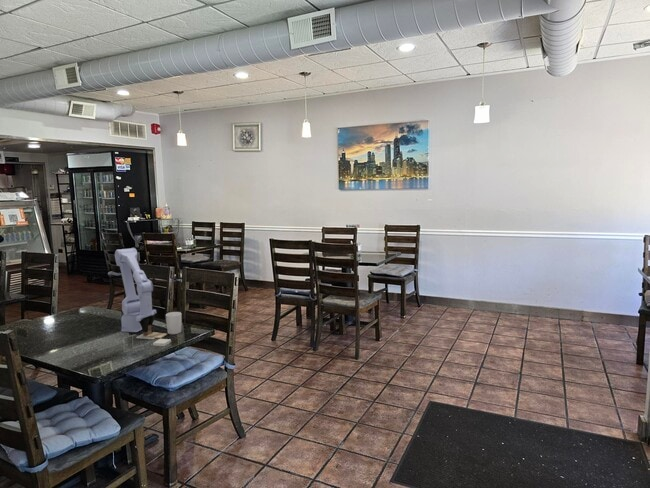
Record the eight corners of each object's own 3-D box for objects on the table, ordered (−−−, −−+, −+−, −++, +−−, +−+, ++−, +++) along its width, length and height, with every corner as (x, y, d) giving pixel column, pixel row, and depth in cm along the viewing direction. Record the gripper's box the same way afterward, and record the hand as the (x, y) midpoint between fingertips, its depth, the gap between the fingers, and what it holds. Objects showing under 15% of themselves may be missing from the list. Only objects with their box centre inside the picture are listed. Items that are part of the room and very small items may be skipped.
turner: (141, 336, 217) (141, 326, 217) (148, 332, 223) (148, 323, 223) (160, 338, 215) (160, 328, 215) (167, 334, 221) (166, 325, 221)
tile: (152, 342, 206) (164, 343, 205) (159, 338, 212) (171, 339, 211) (153, 346, 206) (164, 346, 205) (160, 342, 212) (171, 342, 211)
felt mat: (135, 338, 217) (135, 337, 217) (145, 333, 225) (145, 332, 225) (153, 339, 215) (153, 338, 215) (162, 334, 223) (162, 333, 223)
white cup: (169, 335, 220) (168, 316, 219) (164, 332, 227) (163, 313, 225) (184, 332, 225) (183, 314, 224) (179, 329, 231) (178, 311, 230)
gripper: (144, 309, 210) (145, 335, 212) (161, 301, 225) (162, 326, 226) (131, 308, 212) (133, 334, 213) (148, 301, 226) (150, 326, 227)
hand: (147, 330), depth 220 cm, fingers closed on turner, 3 cm apart
